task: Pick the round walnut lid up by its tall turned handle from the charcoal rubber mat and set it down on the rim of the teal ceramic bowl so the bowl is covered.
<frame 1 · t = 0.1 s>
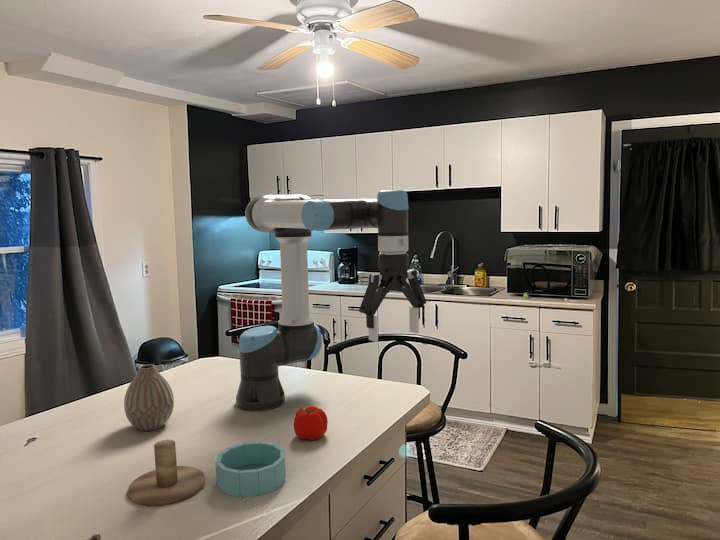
hand: (394, 336, 141), 28 cm above the kitchen island, fingers open, 13 cm apart
mat: (167, 488, 123), on the kitchen island
vase: (150, 427, 158), on the kitchen island
lid: (167, 486, 123), resting on mat
tomato: (310, 437, 149), on the kitchen island
bowl: (252, 480, 126), on the kitchen island
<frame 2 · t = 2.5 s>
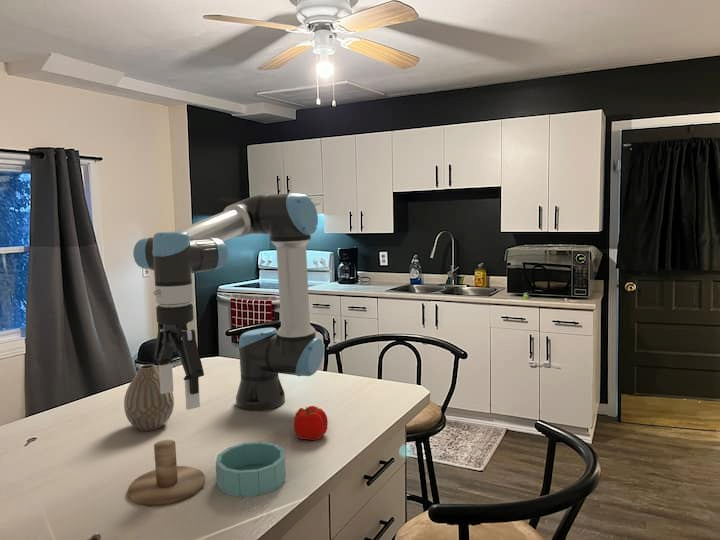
hand: (179, 400, 122), 20 cm above the kitchen island, fingers open, 13 cm apart
nothing on the kitchen island moved.
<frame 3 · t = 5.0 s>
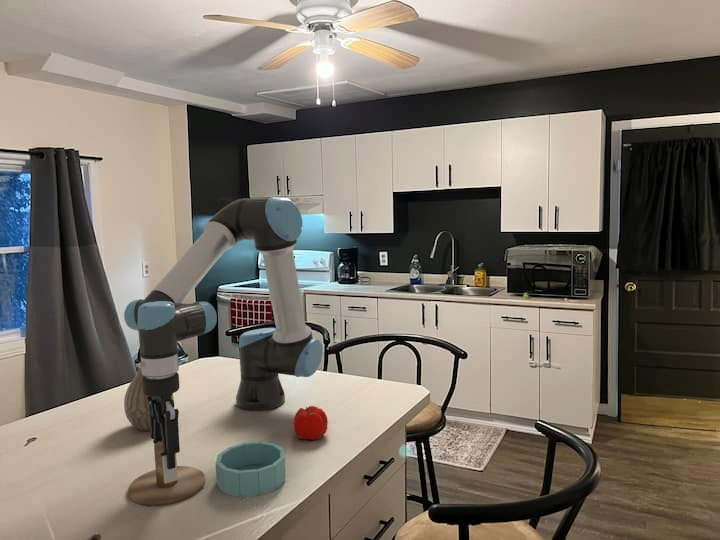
hand: (166, 476, 123), 3 cm above the kitchen island, fingers closed on lid, 4 cm apart
lid: (167, 486, 123), resting on mat, touching gripper
everything else where it was.
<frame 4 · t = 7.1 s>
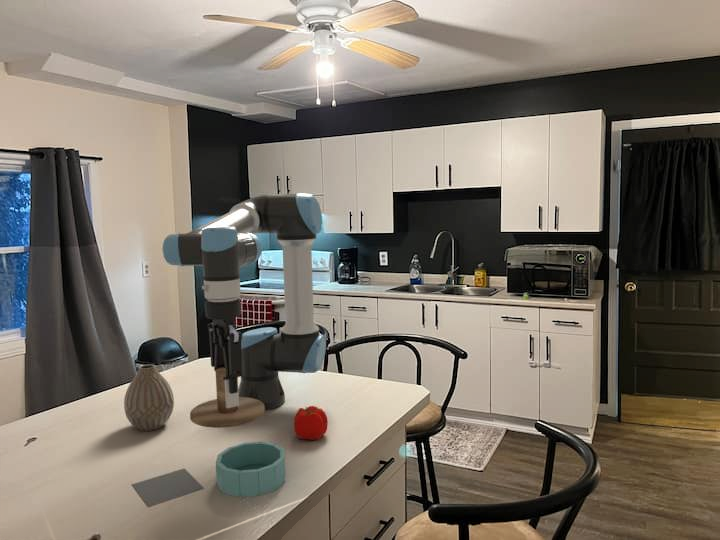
hand: (227, 402, 123), 18 cm above the kitchen island, fingers closed on lid, 4 cm apart
lid: (228, 413, 123), point 16 cm above the kitchen island, touching gripper
everything else where it was.
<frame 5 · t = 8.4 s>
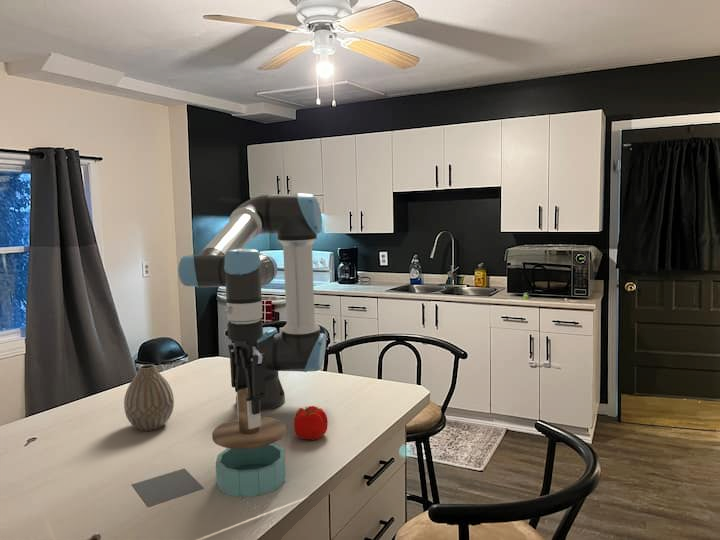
hand: (249, 423, 124), 14 cm above the kitchen island, fingers closed on lid, 4 cm apart
lid: (249, 433, 124), point 11 cm above the kitchen island, touching gripper
everything else where it was.
when the fingers open (9 cm above the kitchen island, at t = 9.4 s): lid drops 1 cm, resting on bowl.
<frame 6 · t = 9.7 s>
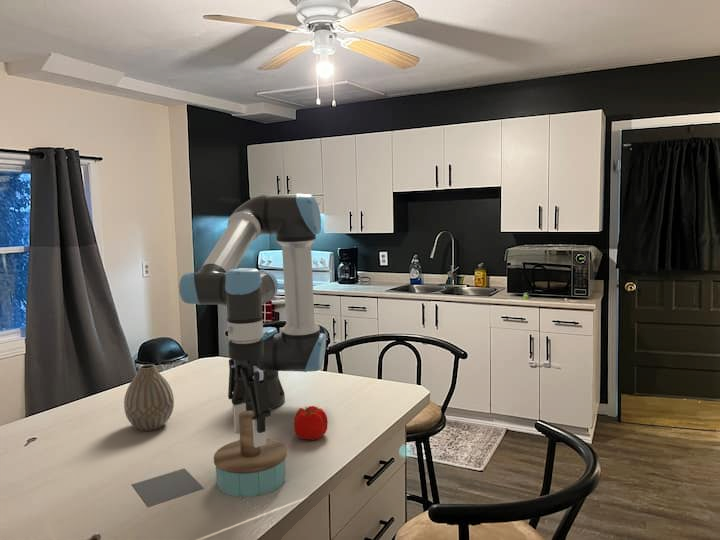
hand: (250, 438, 124), 10 cm above the kitchen island, fingers open, 9 cm apart
lid: (250, 456, 125), point 6 cm above the kitchen island, touching bowl
everything else where it was.
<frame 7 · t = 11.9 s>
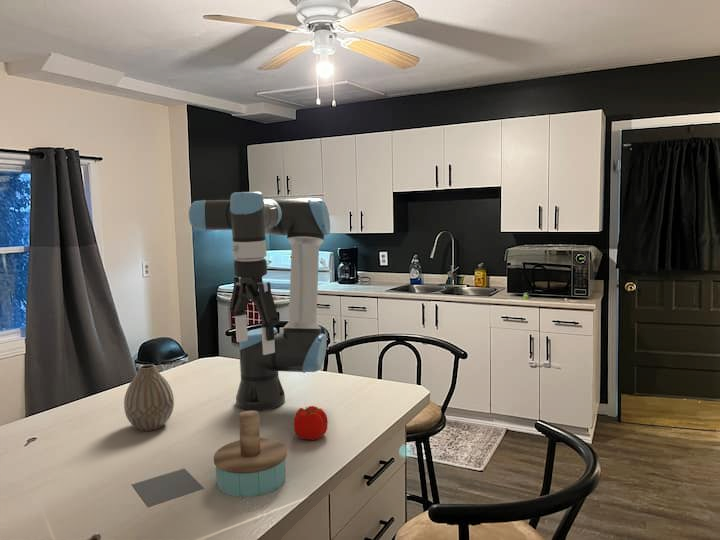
hand: (255, 347, 133), 28 cm above the kitchen island, fingers open, 13 cm apart
nothing on the kitchen island moved.
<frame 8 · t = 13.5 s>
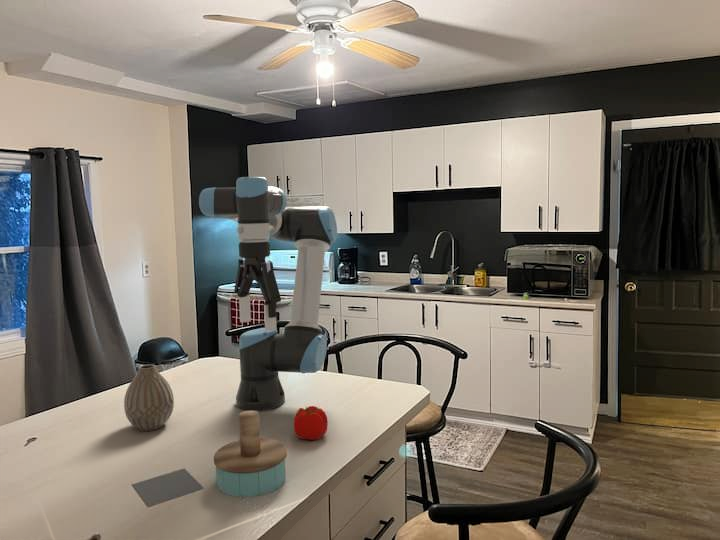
hand: (257, 326, 139), 32 cm above the kitchen island, fingers open, 13 cm apart
nothing on the kitchen island moved.
at the end: lid 0.0 cm off-centre on the bowl, point 5.8 cm above the bowl's base; lid tilted 0°; the gripper is holding nothing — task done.
